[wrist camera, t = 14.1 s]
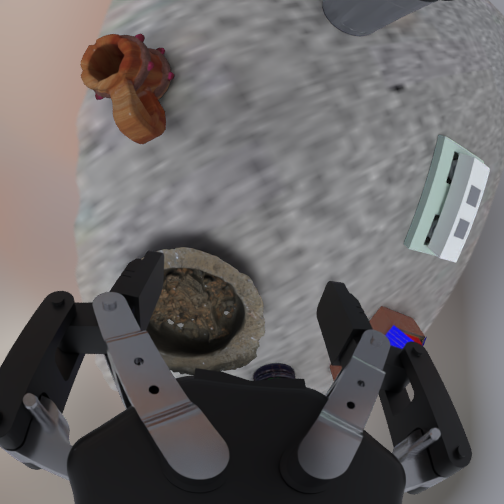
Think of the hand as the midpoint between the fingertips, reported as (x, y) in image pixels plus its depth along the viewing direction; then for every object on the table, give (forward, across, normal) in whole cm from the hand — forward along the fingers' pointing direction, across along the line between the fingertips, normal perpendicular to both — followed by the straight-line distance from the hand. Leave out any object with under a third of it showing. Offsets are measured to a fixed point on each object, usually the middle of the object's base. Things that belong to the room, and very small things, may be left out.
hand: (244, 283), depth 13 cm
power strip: (+28, -36, -5) cm, 46 cm away
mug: (+28, +15, -10) cm, 34 cm away
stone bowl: (+28, +5, +23) cm, 37 cm away
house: (+29, -35, +30) cm, 54 cm away
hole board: (+28, -36, -5) cm, 46 cm away
